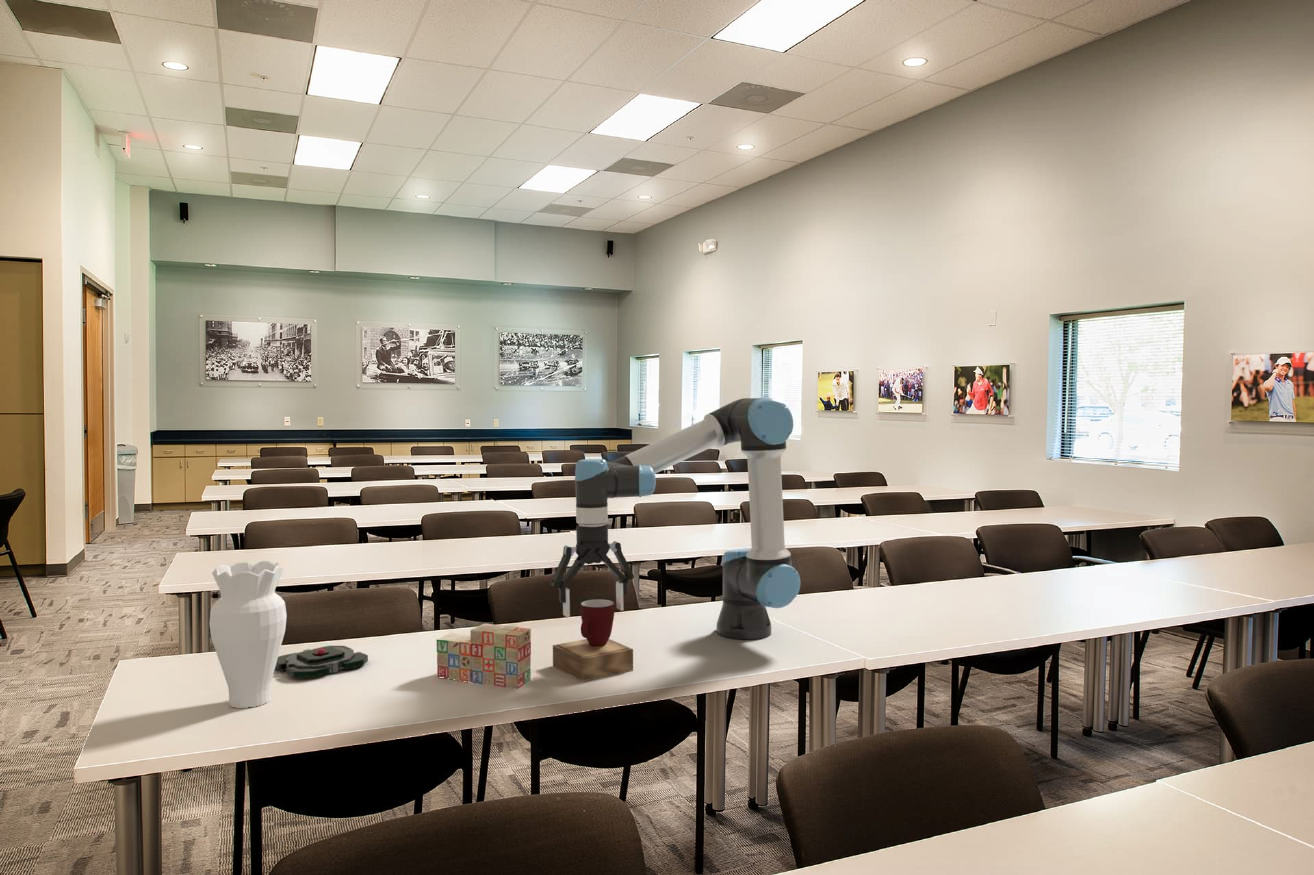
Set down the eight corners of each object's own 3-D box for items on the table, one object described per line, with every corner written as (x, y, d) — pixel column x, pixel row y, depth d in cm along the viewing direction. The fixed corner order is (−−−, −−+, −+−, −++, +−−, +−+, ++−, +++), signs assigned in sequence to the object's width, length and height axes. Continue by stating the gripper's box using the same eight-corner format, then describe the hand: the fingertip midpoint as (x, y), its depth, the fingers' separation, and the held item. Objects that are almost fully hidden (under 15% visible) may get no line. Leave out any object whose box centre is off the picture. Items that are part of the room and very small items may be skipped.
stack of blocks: (436, 679, 194) (435, 626, 194) (451, 671, 200) (451, 619, 200) (518, 689, 187) (517, 634, 187) (531, 681, 193) (531, 627, 192)
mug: (601, 653, 196) (601, 611, 195) (570, 650, 199) (570, 608, 198) (619, 641, 205) (619, 600, 205) (590, 638, 208) (589, 598, 208)
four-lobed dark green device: (374, 667, 204) (373, 649, 204) (300, 685, 191) (299, 665, 191) (339, 653, 216) (338, 635, 216) (267, 668, 203) (267, 650, 203)
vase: (237, 719, 169) (234, 575, 168) (196, 706, 177) (193, 568, 176) (302, 698, 181) (300, 563, 180) (261, 686, 189) (259, 557, 188)
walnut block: (602, 655, 212) (602, 635, 211) (633, 670, 200) (633, 648, 200) (552, 665, 204) (552, 644, 203) (581, 681, 192) (581, 658, 192)
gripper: (634, 518, 209) (635, 603, 210) (536, 526, 199) (538, 615, 200) (646, 522, 202) (647, 609, 203) (546, 530, 192) (548, 622, 193)
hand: (593, 612), depth 202 cm, fingers open, 13 cm apart
